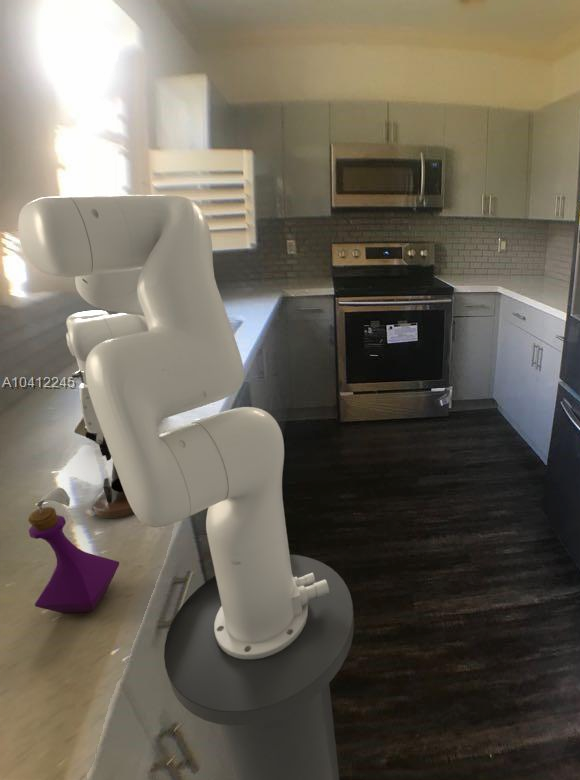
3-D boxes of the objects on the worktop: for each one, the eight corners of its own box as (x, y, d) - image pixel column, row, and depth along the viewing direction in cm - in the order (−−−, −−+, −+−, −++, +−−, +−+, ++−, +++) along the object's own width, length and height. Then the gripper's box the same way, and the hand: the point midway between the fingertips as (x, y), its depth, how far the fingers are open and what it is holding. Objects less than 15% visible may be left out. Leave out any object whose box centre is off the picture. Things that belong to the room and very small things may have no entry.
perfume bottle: (41, 624, 61) (-6, 512, 54) (74, 581, 68) (37, 477, 61) (97, 621, 61) (58, 509, 54) (125, 578, 68) (93, 475, 61)
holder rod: (138, 488, 87) (134, 474, 85) (107, 495, 85) (102, 481, 83) (138, 445, 99) (134, 431, 98) (111, 450, 97) (107, 437, 96)
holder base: (154, 508, 84) (148, 485, 82) (92, 524, 80) (84, 501, 78) (154, 481, 92) (149, 459, 91) (97, 495, 89) (90, 472, 87)
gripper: (49, 388, 84) (76, 473, 91) (151, 372, 91) (169, 452, 97) (56, 375, 90) (80, 455, 97) (151, 361, 97) (168, 437, 104)
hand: (125, 453), depth 97 cm, fingers closed on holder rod, 5 cm apart
